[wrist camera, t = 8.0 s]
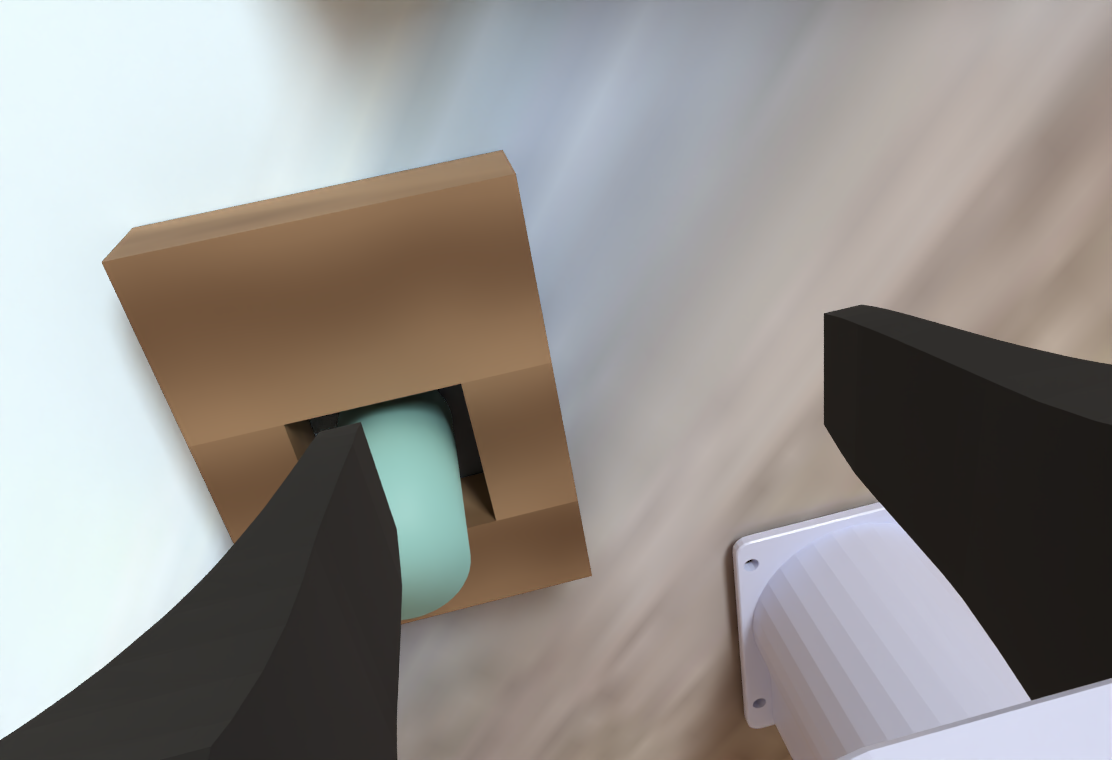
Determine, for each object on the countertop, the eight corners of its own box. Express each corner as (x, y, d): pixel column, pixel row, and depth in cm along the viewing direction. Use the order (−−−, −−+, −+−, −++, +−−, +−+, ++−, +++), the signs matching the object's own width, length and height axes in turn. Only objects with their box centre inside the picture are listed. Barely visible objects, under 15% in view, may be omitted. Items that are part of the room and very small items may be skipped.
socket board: (575, 525, 26) (591, 575, 24) (294, 595, 25) (285, 653, 23) (502, 149, 20) (515, 173, 18) (132, 227, 19) (101, 262, 17)
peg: (463, 458, 24) (483, 600, 19) (355, 483, 24) (345, 635, 19) (438, 364, 22) (453, 491, 17) (323, 390, 22) (302, 526, 17)
